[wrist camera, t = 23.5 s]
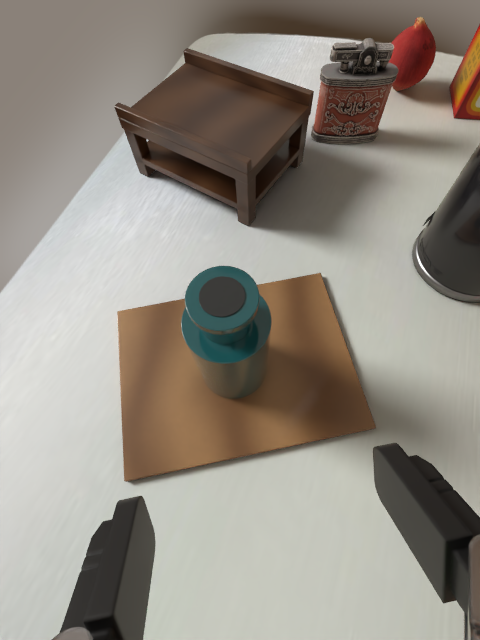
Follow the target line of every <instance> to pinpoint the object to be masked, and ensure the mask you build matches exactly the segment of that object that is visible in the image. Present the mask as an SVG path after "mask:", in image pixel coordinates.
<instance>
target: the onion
mask: <svg viewBox="0 0 480 640" xmlns="http://www.w3.org/2000/svg"><path fill="white" fill-rule="evenodd" d="M391 44H393V45H394V50H393V53H392V56H391V59H390V60H389V62H388V63H392V64H394V65H396V66H397V68H398V74H397V77H396V80H395V81H394V82H393V84H392V86H393V88H394V89H395V90H396V91H400V90H403V89H407V88H409V87H411V86H413V85H415V84H416V83H418V82H420V81H421V80H422V79H423V78H424V77H425V76H426V75H427V73H428V71H429V69H430V68H431V66H432V64H433V62H434V58H435V52H436V46H435V40H434V37H433V35H432V33H431V31H430V30H429V29H428V27H427V25H426V23H425V21H424V18H422V17H418V18H416V20H415V24H414V26H411V27H409V28H407V29H406V30H404V31H403V32H401V33H400V34H399V35H398V36H397V37H396V38H395V39H394V40H393V42H392V43H391Z"/></svg>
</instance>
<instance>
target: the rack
mask: <svg viewBox="0 0 480 640" xmlns="http://www.w3.org/2000/svg"><path fill="white" fill-rule="evenodd" d="M184 58H185V64H184V65H182V66H181V67H180V68H179V69H178V70H176V71H175V72H174V73H173V74H171V75H170V76H169V77H168V78H166V79H165V80H164V81H163V82H162V83H160V84H159V85H158V86H157V87H156V88H154V89H153V90H152V91H151V92H149V93H148V94H147V95H146V96H144V97H143V98H142V99H141V100H139V101H138V102H137V103H136V104H135V105H133V106H132V107H131V108H130V107H128V106H126V105H123V104H121V103H117V104H116V105H115V109H116V112H117V115H118V117H119V120H120V123H121V126H122V128H123V129H124V130H125V133H126V136H127V139H128V141H129V144H130V147H131V150H132V152H133V155H134V158H135V160H136V163H137V166H138V169H139V171H140V173H141V174H143V175H145V176H148V177H149V176H150V175H151V174H152V173H153V172H154V171H155V170H157V171H159V172H161V173H163V174H165V175H167V176H169V177H172V178H174V179H176V180H178V181H180V182H182V183H184V184H186V185H188V186H190V187H192V188H194V189H197V190H199V191H201V192H203V193H205V194H207V195H209V196H211V197H213V198H215V199H217V200H220V201H222V202H224V203H226V204H228V205H230V206H232V207H234V208H236V209H238V221H239V222H241V223H243V224H245V225H247V226H249V225H250V224H251V223H252V222H253V221H254V219H255V218H256V205H257V204H258V202H259V201H260V200H261V199H262V198H263V197H264V195H265V194H266V193H267V192H268V191H269V189H270V188H271V187H272V186H273V185H274V184H275V182H276V181H277V180H278V179H279V178H280V176H281V175H282V174H283V173H284V172H285V171H286V169H287V168H288V167H289V166H293V167H295V168H297V167H298V166H299V165H300V164H301V163H302V161H303V153H304V147H305V139H306V132H307V125H308V118H309V115H310V113H311V106H312V100H313V93H314V91H312V90H309V89H306V88H303V87H300V86H297V85H294V84H291V83H288V82H285V81H282V80H279V79H276V78H273V77H270V76H267V75H265V74H262V73H259V72H256V71H253V70H250V69H247V68H244V67H241V66H238V65H235V64H232V63H229V62H226V61H223V60H220V59H217V58H215V57H212V56H209V55H206V54H203V53H200V52H197V51H194V50H191V49H188V48H187V49H185V50H184ZM146 139H148V140H149V141H148V142H147V141H146Z"/></svg>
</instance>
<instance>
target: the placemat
mask: <svg viewBox="0 0 480 640" xmlns="http://www.w3.org/2000/svg"><path fill="white" fill-rule="evenodd" d="M257 287H258V290H259V294H260V295H261V296H262V297H263V298H264V300H265V301H266V303H267V305H268V307H269V309H270V312H271V318H272V325H271V336H270V346H269V357H268V368H267V374H266V377H265V380H264V381H263V383H262V385H261V386H260V387H259V388H258V389H257V390H256V391H255V392H254V393H252V394H250V395H248V396H246V397H243V398H238V399H229V398H224V397H221V396H219V395H217V394H215V393H214V392H212V391H211V390H210V389H209V388H208V387H207V385H206V384H205V382H204V380H203V378H202V376H201V374H200V372H199V370H198V367H197V365H196V363H195V361H194V359H193V357H192V355H191V353H190V351H189V349H188V346H187V344H186V342H185V340H184V338H183V335H182V330H181V319H182V314H183V311H184V309H185V307H186V306H185V299H181V300H176V301H170V302H165V303H160V304H155V305H149V306H144V307H139V308H134V309H128V310H123V311H118V312H117V313H118V337H119V361H120V385H121V409H122V433H123V457H124V481H126V482H127V481H132V480H137V479H141V478H146V477H151V476H155V475H160V474H165V473H169V472H174V471H179V470H183V469H188V468H193V467H197V466H202V465H207V464H211V463H216V462H221V461H225V460H230V459H235V458H240V457H244V456H249V455H254V454H258V453H263V452H268V451H272V450H277V449H282V448H286V447H291V446H296V445H300V444H305V443H310V442H314V441H319V440H324V439H328V438H333V437H338V436H342V435H347V434H352V433H356V432H361V431H366V430H370V429H374V428H376V426H375V423H374V421H373V418H372V415H371V412H370V409H369V407H368V404H367V401H366V398H365V396H364V393H363V390H362V387H361V384H360V382H359V379H358V376H357V373H356V371H355V368H354V365H353V362H352V359H351V357H350V354H349V351H348V348H347V346H346V343H345V340H344V337H343V334H342V332H341V329H340V326H339V323H338V321H337V318H336V315H335V312H334V309H333V307H332V304H331V301H330V298H329V296H328V293H327V290H326V287H325V284H324V282H323V279H322V276H321V273H318V274H313V275H307V276H302V277H297V278H292V279H286V280H281V281H276V282H271V283H265V284H260V285H257Z"/></svg>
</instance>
